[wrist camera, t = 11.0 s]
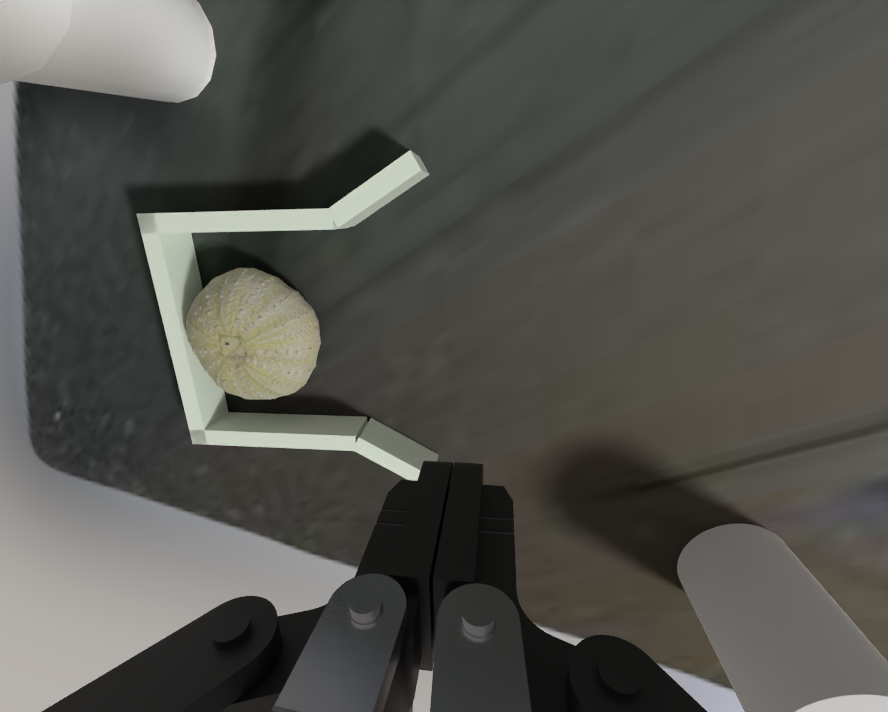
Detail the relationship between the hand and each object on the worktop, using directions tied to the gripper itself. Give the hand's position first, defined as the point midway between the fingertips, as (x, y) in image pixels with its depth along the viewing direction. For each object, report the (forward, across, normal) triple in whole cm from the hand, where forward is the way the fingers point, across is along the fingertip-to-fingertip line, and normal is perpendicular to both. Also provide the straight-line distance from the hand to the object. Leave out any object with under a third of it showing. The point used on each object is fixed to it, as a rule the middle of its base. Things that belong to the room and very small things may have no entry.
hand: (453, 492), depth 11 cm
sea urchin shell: (+20, +16, +2) cm, 25 cm away
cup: (+20, -20, +20) cm, 34 cm away
